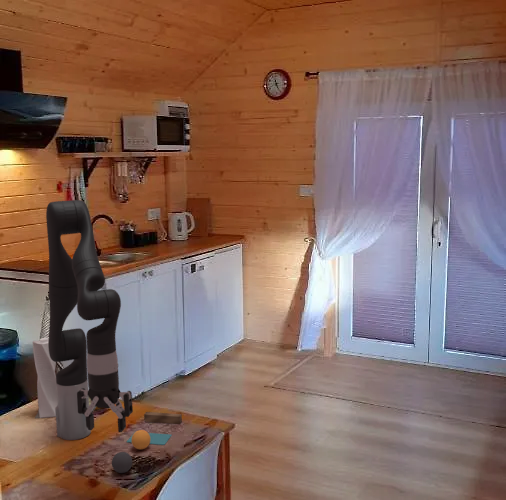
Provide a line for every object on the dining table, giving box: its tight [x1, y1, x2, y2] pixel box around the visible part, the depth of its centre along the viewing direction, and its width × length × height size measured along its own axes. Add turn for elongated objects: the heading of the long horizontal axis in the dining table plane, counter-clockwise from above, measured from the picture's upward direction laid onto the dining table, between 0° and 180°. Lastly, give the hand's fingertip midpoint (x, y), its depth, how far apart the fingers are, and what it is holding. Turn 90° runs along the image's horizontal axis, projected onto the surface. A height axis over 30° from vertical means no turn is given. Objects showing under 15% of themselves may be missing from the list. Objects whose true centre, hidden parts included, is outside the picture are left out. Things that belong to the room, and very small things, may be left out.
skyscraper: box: [32, 333, 58, 419], centre depth 211 cm, size 8×8×28 cm
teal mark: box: [126, 431, 173, 446], centre depth 193 cm, size 12×7×1 cm, turn 78°
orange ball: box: [131, 429, 151, 450], centre depth 187 cm, size 6×6×6 cm
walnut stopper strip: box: [143, 411, 183, 425], centre depth 205 cm, size 12×2×2 cm, turn 79°
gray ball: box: [111, 451, 133, 474], centre depth 173 cm, size 6×6×6 cm
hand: (106, 430), depth 162 cm, fingers open, 7 cm apart
